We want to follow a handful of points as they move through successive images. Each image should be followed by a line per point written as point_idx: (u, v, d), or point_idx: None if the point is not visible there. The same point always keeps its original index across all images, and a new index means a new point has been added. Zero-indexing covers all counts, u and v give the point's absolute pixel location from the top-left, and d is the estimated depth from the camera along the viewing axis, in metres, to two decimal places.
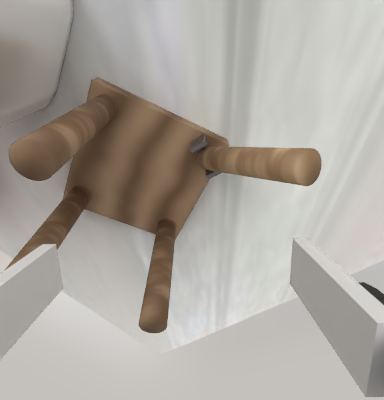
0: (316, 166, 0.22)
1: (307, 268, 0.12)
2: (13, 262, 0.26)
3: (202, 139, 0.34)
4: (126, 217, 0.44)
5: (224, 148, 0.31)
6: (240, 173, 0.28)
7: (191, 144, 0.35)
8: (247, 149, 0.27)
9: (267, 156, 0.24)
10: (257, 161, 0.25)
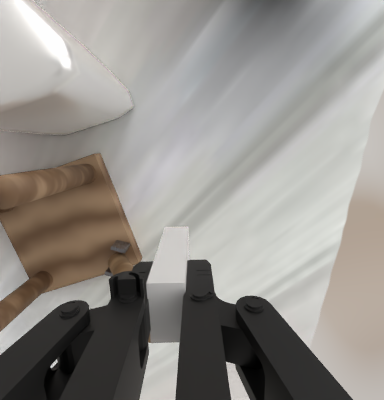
0: None
1: None
2: None
3: (125, 247, 0.42)
4: (20, 246, 0.45)
5: (130, 267, 0.38)
6: None
7: (115, 243, 0.42)
8: None
9: None
10: None
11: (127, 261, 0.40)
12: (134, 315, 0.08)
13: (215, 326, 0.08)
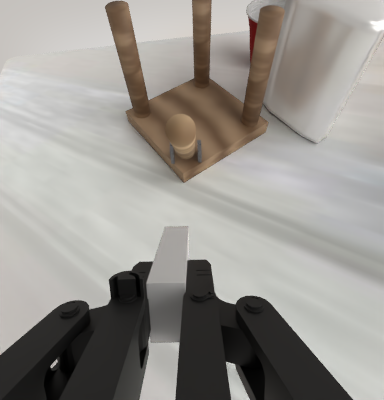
0: (175, 137, 0.27)
1: None
2: None
3: None
4: (168, 95, 0.54)
5: None
6: None
7: None
8: None
9: None
10: None
11: None
12: (134, 315, 0.08)
13: (215, 326, 0.08)
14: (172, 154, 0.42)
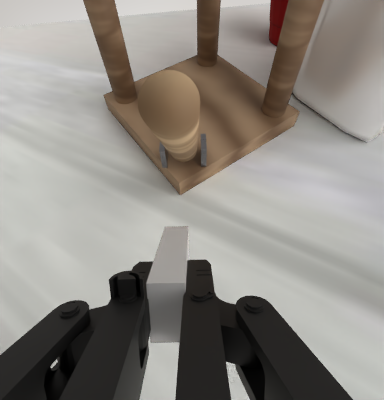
0: (158, 119, 0.13)
1: None
2: None
3: None
4: None
5: None
6: None
7: None
8: None
9: None
10: None
11: (197, 147, 0.26)
12: (134, 315, 0.08)
13: (215, 326, 0.08)
14: (163, 154, 0.28)
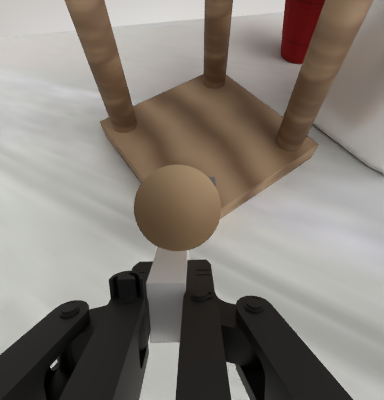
0: (163, 230, 0.09)
1: None
2: None
3: None
4: (164, 98, 0.36)
5: None
6: None
7: None
8: None
9: None
10: None
11: None
12: (134, 315, 0.08)
13: (215, 326, 0.08)
14: None
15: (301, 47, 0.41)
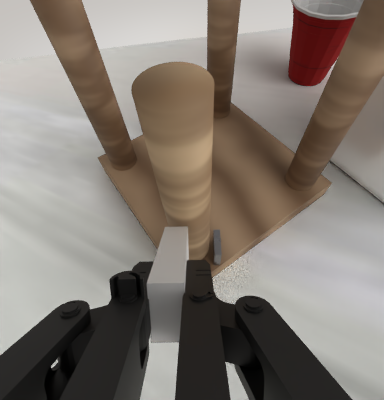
0: (157, 98, 0.09)
1: None
2: None
3: None
4: None
5: (209, 223, 0.19)
6: None
7: None
8: None
9: None
10: None
11: (209, 235, 0.21)
12: (134, 315, 0.08)
13: (215, 326, 0.08)
14: None
15: (310, 70, 0.39)
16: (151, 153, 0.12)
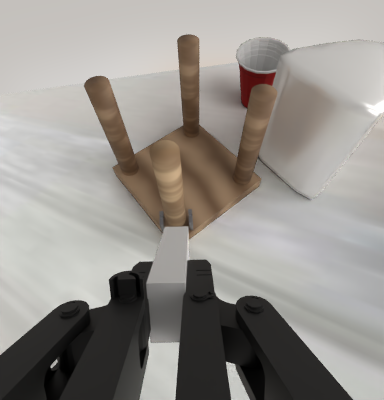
0: (159, 157, 0.27)
1: None
2: None
3: (192, 223, 0.41)
4: None
5: (184, 204, 0.37)
6: None
7: None
8: None
9: None
10: None
11: (185, 211, 0.38)
12: (134, 315, 0.08)
13: (215, 326, 0.08)
14: (162, 226, 0.40)
15: None
16: (156, 174, 0.29)
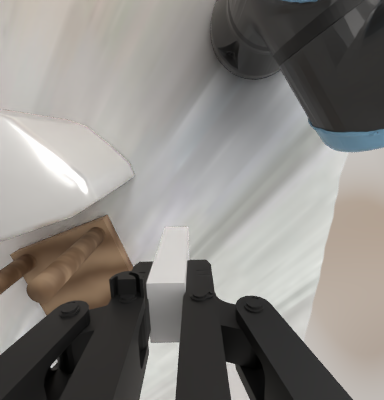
0: None
1: None
2: None
3: None
4: None
5: None
6: None
7: None
8: None
9: None
10: None
11: None
12: (134, 315, 0.08)
13: (215, 326, 0.08)
14: None
15: None
16: None
